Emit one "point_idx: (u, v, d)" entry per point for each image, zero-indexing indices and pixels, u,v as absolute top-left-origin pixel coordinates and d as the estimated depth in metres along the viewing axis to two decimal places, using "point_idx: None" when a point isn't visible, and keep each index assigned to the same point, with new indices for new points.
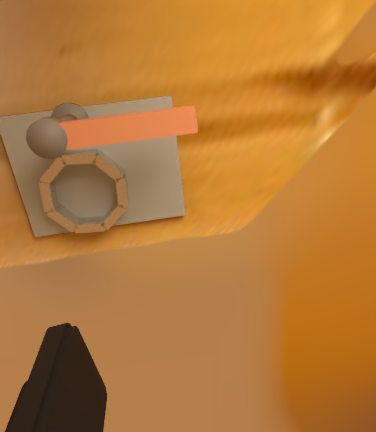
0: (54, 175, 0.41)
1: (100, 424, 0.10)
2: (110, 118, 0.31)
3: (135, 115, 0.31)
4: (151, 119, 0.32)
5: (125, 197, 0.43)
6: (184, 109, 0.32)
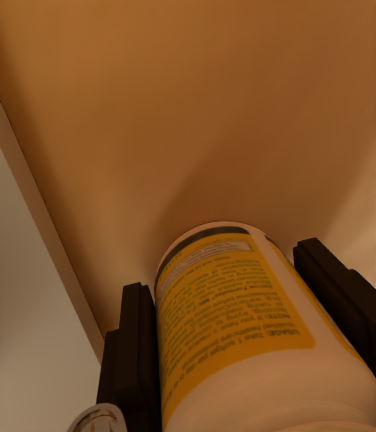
0: None
1: None
2: None
3: None
4: None
5: None
6: None
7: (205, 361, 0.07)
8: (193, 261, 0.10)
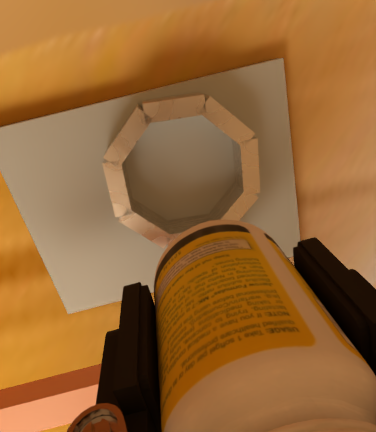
0: (233, 207, 0.24)
1: None
2: None
3: None
4: (71, 414, 0.19)
5: (109, 182, 0.23)
6: None
7: (204, 360, 0.07)
8: (192, 259, 0.10)
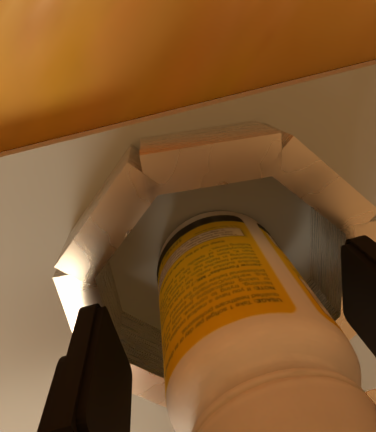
0: None
1: (129, 399, 0.10)
2: None
3: None
4: None
5: (71, 311, 0.11)
6: None
7: (201, 325, 0.08)
8: (191, 245, 0.11)
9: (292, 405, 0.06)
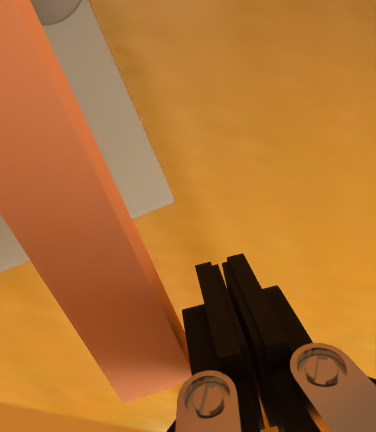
0: None
1: None
2: (74, 135, 0.07)
3: (117, 226, 0.08)
4: (121, 279, 0.09)
5: None
6: (181, 356, 0.10)
7: None
8: None
9: None
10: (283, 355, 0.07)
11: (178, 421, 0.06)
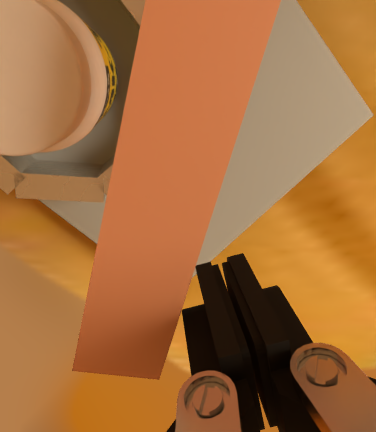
0: None
1: None
2: (247, 91, 0.07)
3: (213, 196, 0.08)
4: (175, 246, 0.08)
5: None
6: (164, 350, 0.09)
7: None
8: None
9: None
10: (283, 355, 0.07)
11: (178, 421, 0.06)
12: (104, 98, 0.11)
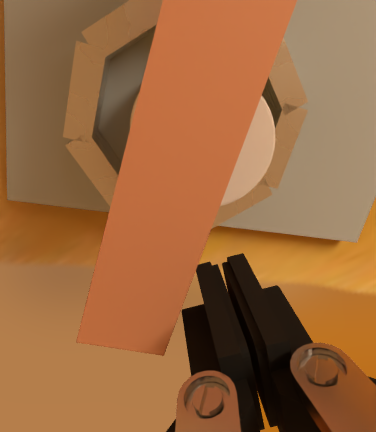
0: (130, 34, 0.14)
1: None
2: (271, 55, 0.07)
3: (230, 164, 0.08)
4: (188, 215, 0.08)
5: (284, 162, 0.16)
6: (170, 325, 0.09)
7: None
8: None
9: None
10: (283, 355, 0.07)
11: (178, 421, 0.06)
12: None
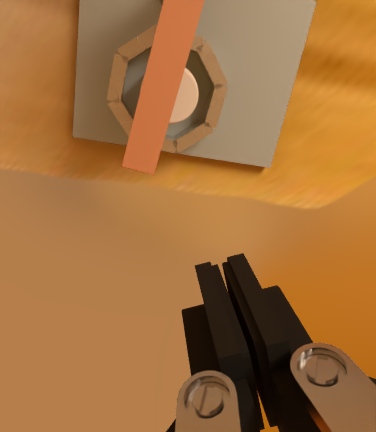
0: (140, 50, 0.29)
1: None
2: (185, 62, 0.22)
3: (174, 97, 0.23)
4: (161, 115, 0.23)
5: (218, 114, 0.32)
6: (156, 161, 0.25)
7: None
8: None
9: None
10: (283, 355, 0.07)
11: (178, 421, 0.06)
12: (196, 83, 0.27)
